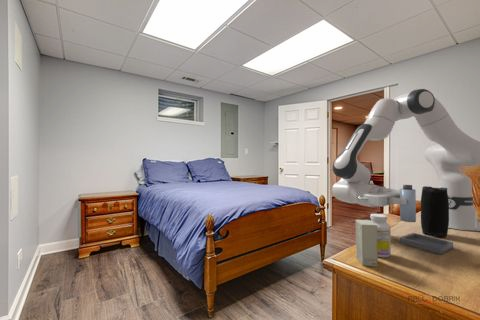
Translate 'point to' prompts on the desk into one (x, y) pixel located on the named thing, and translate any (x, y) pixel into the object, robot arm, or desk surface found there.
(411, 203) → the blue bottle
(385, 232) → the supplement bottle
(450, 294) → the desk surface
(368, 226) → the skincare box
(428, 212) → the portable speaker
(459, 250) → the desk surface
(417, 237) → the box
